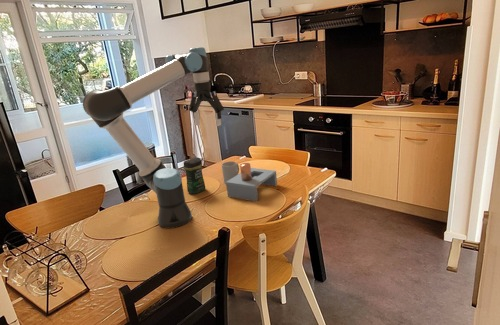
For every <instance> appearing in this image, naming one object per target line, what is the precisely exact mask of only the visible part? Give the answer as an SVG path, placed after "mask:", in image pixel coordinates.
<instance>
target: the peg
mask: <svg viewBox="0 0 500 325" xmlns="http://www.w3.org/2000/svg"><path fill="white" fill-rule="evenodd" d="M251 168H252V166H251V163H249V162H242V163H240V164H239V171H240V173H241V178H242V181H250V180H252V176H251Z"/></svg>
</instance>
